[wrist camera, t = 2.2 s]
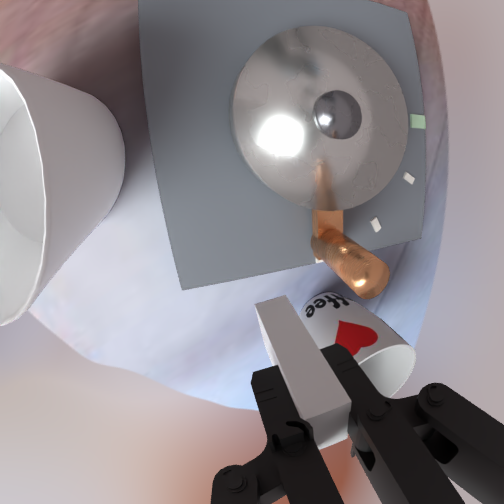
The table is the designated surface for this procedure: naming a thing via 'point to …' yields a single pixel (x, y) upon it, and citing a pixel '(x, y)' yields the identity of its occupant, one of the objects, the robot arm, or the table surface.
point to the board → (222, 146)
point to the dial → (322, 135)
